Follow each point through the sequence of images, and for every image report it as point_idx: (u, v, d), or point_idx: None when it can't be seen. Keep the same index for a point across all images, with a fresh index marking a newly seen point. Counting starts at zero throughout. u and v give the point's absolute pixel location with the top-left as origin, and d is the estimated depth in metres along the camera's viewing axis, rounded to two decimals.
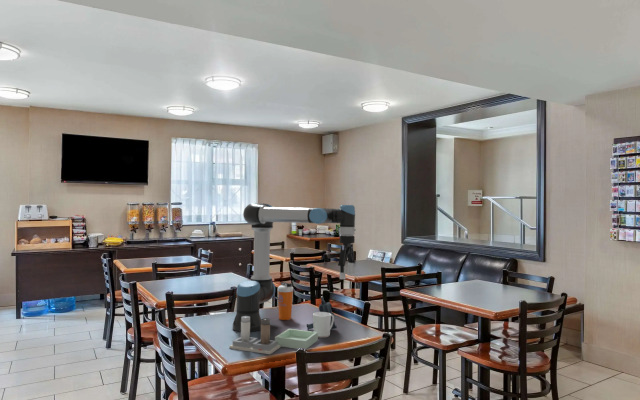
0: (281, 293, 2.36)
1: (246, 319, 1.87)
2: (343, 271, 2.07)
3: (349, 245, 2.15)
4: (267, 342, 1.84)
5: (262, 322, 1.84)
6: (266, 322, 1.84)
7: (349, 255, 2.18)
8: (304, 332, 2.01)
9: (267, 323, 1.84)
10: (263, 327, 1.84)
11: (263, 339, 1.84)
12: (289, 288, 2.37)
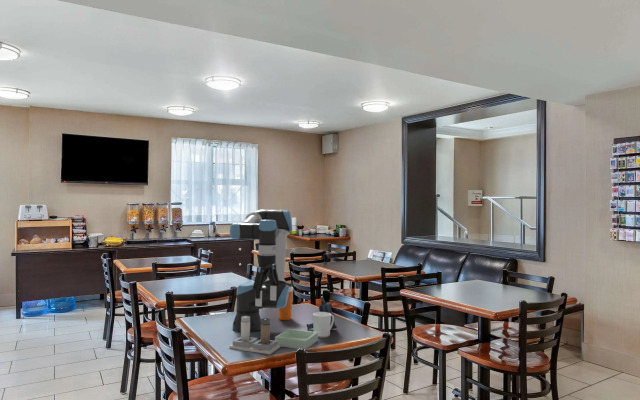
0: None
1: (246, 319, 1.87)
2: (259, 297, 1.79)
3: (269, 266, 1.87)
4: (267, 342, 1.84)
5: (262, 322, 1.84)
6: (266, 322, 1.84)
7: (271, 277, 1.90)
8: (304, 332, 2.01)
9: (267, 323, 1.84)
10: (263, 327, 1.84)
11: (263, 339, 1.84)
12: (289, 288, 2.37)
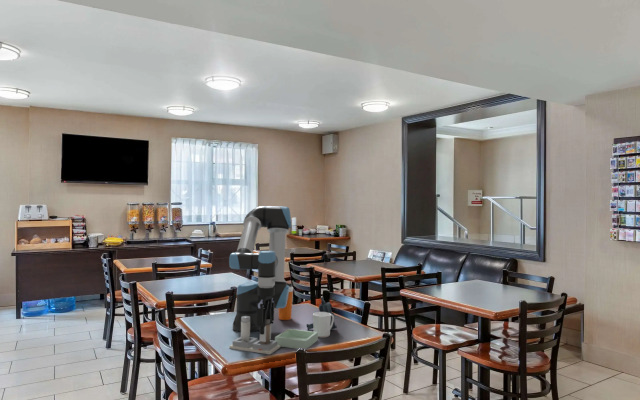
0: None
1: (246, 319, 1.87)
2: (263, 332, 1.82)
3: None
4: (267, 342, 1.84)
5: None
6: (266, 322, 1.84)
7: (268, 311, 1.87)
8: (304, 332, 2.01)
9: (267, 323, 1.84)
10: None
11: None
12: (289, 288, 2.37)
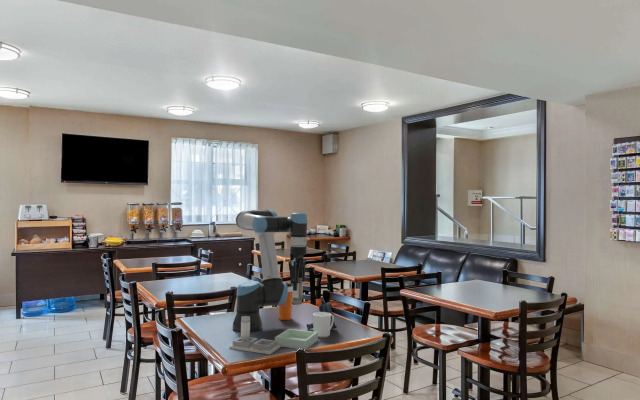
0: None
1: (246, 319, 1.87)
2: (296, 289, 1.93)
3: (301, 254, 1.97)
4: (299, 299, 1.94)
5: None
6: (299, 280, 1.94)
7: (299, 270, 1.98)
8: (304, 332, 2.01)
9: (299, 281, 1.94)
10: None
11: None
12: (289, 288, 2.37)
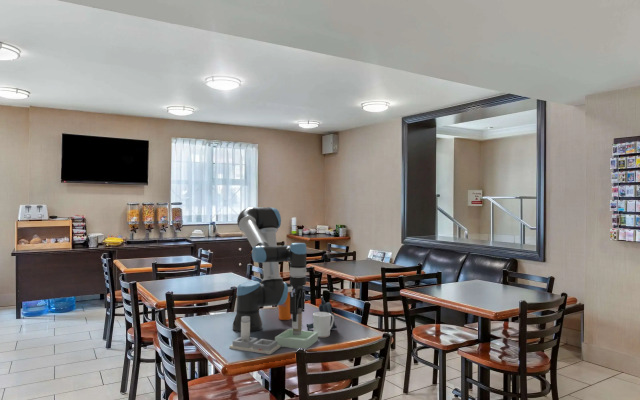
0: None
1: (246, 319, 1.87)
2: (295, 320, 1.92)
3: None
4: (299, 329, 1.94)
5: None
6: (298, 310, 1.94)
7: (299, 300, 1.97)
8: (304, 332, 2.01)
9: (299, 311, 1.94)
10: None
11: None
12: (289, 288, 2.37)
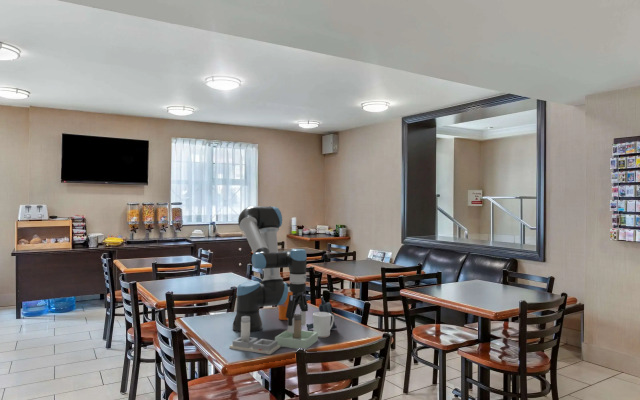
0: None
1: (246, 319, 1.87)
2: (291, 324, 1.88)
3: (300, 293, 1.96)
4: (299, 336, 1.94)
5: (294, 317, 1.94)
6: (298, 317, 1.94)
7: (301, 303, 1.99)
8: (304, 332, 2.01)
9: (299, 318, 1.94)
10: (295, 322, 1.94)
11: (295, 333, 1.94)
12: (289, 288, 2.37)
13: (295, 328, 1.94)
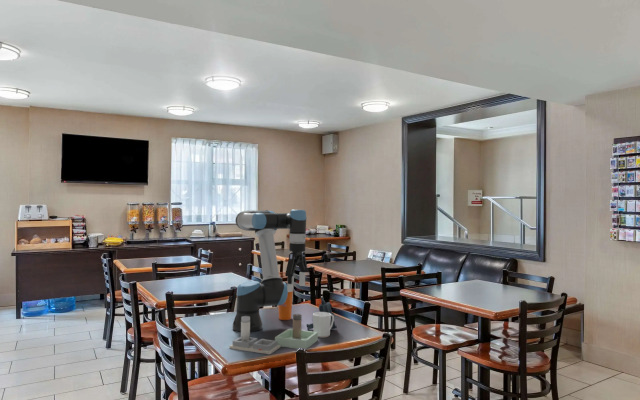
0: None
1: (246, 319, 1.87)
2: (291, 282, 1.90)
3: (299, 253, 1.97)
4: (299, 336, 1.94)
5: (294, 317, 1.94)
6: (298, 317, 1.94)
7: (300, 264, 2.01)
8: (304, 332, 2.01)
9: (299, 318, 1.94)
10: (295, 322, 1.94)
11: (295, 333, 1.94)
12: None
13: (295, 328, 1.94)
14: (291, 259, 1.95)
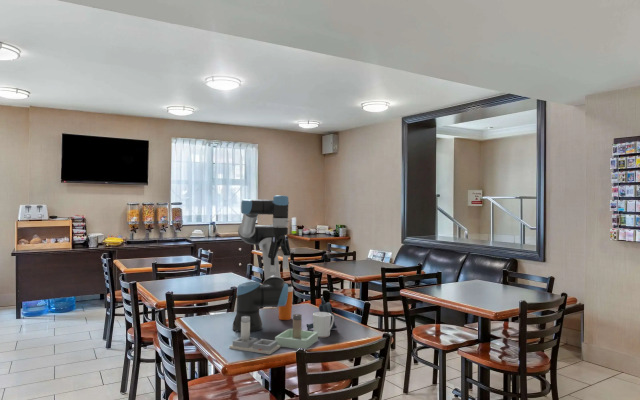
0: None
1: (246, 319, 1.87)
2: (273, 263, 2.00)
3: (282, 237, 2.08)
4: (299, 336, 1.94)
5: (294, 317, 1.94)
6: (298, 317, 1.94)
7: (283, 247, 2.11)
8: (304, 332, 2.01)
9: (299, 318, 1.94)
10: (295, 322, 1.94)
11: (295, 333, 1.94)
12: (289, 288, 2.37)
13: (295, 328, 1.94)
14: None
